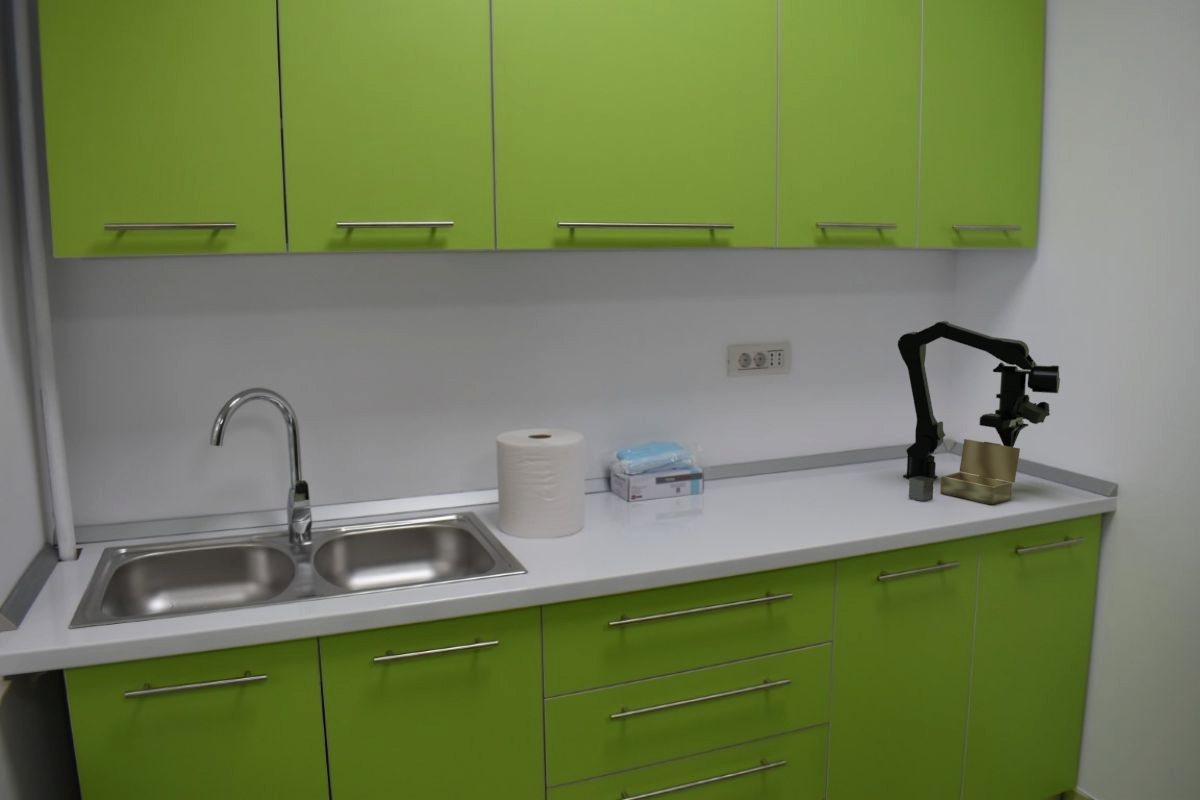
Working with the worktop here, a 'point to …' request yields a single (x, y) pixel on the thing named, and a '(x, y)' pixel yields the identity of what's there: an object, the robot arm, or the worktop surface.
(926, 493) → the block
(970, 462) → the lid
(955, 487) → the box
